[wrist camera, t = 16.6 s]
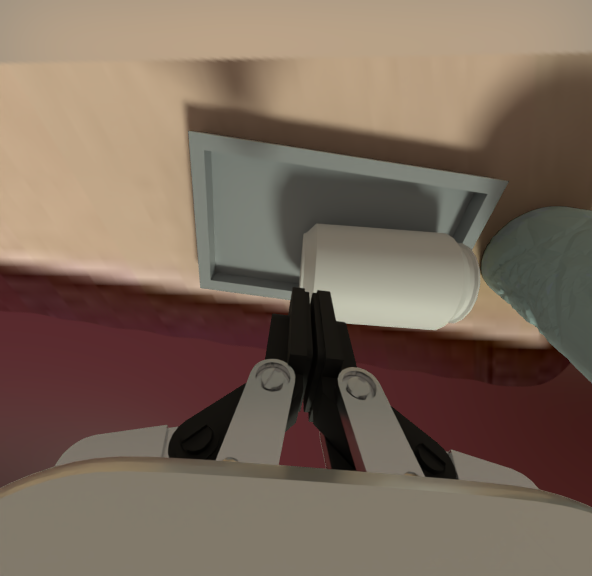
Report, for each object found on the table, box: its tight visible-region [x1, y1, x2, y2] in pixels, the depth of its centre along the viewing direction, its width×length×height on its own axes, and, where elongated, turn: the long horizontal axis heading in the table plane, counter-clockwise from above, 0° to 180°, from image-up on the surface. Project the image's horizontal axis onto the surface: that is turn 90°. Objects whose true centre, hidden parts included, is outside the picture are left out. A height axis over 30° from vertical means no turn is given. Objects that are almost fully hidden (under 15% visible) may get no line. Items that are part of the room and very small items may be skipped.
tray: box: [188, 131, 509, 300], centre depth 21 cm, size 22×12×2 cm, turn 82°
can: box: [299, 224, 480, 330], centre depth 19 cm, size 8×8×12 cm
